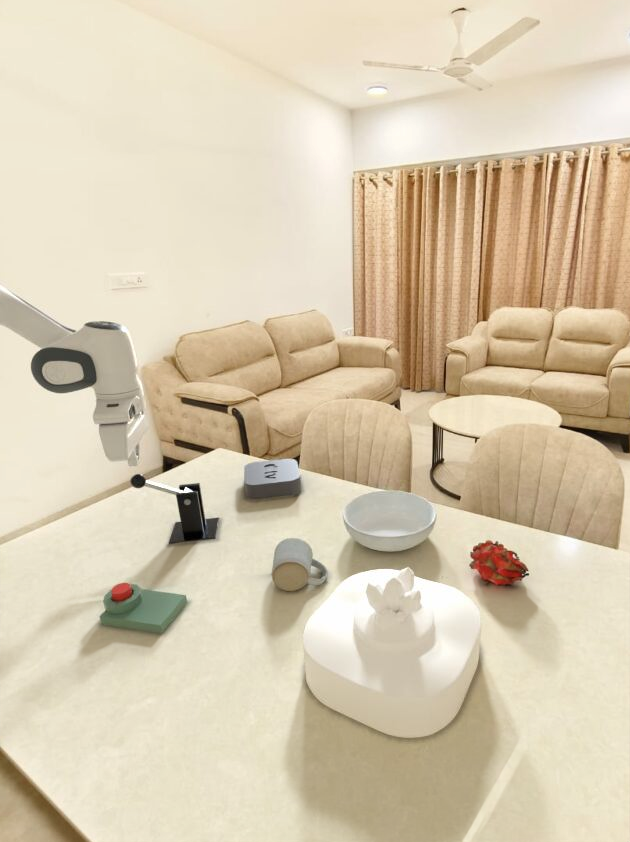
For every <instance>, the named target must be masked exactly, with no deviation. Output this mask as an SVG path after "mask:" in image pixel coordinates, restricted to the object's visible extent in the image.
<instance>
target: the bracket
mask: <svg viewBox="0 0 630 842" xmlns="http://www.w3.org/2000/svg"><path fill="white" fill-rule="evenodd" d="M185 488H189V489H192V490H196V491H193V492H183V493H177V494H176V495H175V497H176V502H177V509H178V514H179V520H180V521H175V523H174V526H173V528H172V531H171V535H170V538H169V540H168V544H169V545H171V544H181V543H189V542H197V541H204V540H205V541H207V540H215V539H217V534H218V527H219V522H220V517H212V518H206V514H205V508H204V501H203V495H202V489H201V483H200V482H196V483H195V482H194V483H185V484H184V483H183V484H179V486H178V490H182V491H184V490H185Z"/></svg>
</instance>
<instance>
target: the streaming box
mask: <svg viewBox="0 0 630 842" xmlns="http://www.w3.org/2000/svg"><path fill="white" fill-rule="evenodd" d="M243 483H244V491H245V497H246V499H249V500H263V499H273V498H280V497H281V498H282V497H287V496H293V497H297V496H299V495H300V494H301V493H302V483H301V473H300V469H299V464H298V461H297V460H296V459H293V458H281V459H271V460H262V461H261V460H260V461H254V462H249V463H246V464H245V465H244V466H243Z"/></svg>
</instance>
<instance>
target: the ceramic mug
mask: <svg viewBox="0 0 630 842" xmlns="http://www.w3.org/2000/svg"><path fill="white" fill-rule="evenodd" d="M313 556H314V555H313V549H312V547H311V546H310V544H309V543H307V542H306V541H305V540H304V539H300V538H297V537H288V538H285V539H283V540H281V541H279V543H278V544H277V545H276V547H275V548H274V553H273V560H272V568H271V577H272V578H271V579H272V582H273V583H274V585H275V586H276V587H277V588H279V589H280V590H282V591H286V592H296V591H298V590H301V589H303V588H304V587H305V586H306V585H307V584H308V585H312V586H320V585H323V584H324V583H325V582H326V580H327V577H328V575H329V573H328V569H327V566H325V565H324V564H323V563H322V562H320V561H319V560H317V559H315V558H313ZM312 567H314V568H316V569H317V570H319V571H320V572H321V573H322V577H321V578H314V577H312V576H311V570H312V569H311V568H312Z"/></svg>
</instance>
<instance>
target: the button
mask: <svg viewBox="0 0 630 842" xmlns="http://www.w3.org/2000/svg"><path fill="white" fill-rule="evenodd" d="M130 584H131V583H129V582H120V583H117V584H115V585H114V586H113V587H112V588H111V589H110V590H111V594H112V598H113V600H114V601H115V602H119V601H124V600H126V599H128V598H130V597H131V596H132V590H131V585H130Z"/></svg>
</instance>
